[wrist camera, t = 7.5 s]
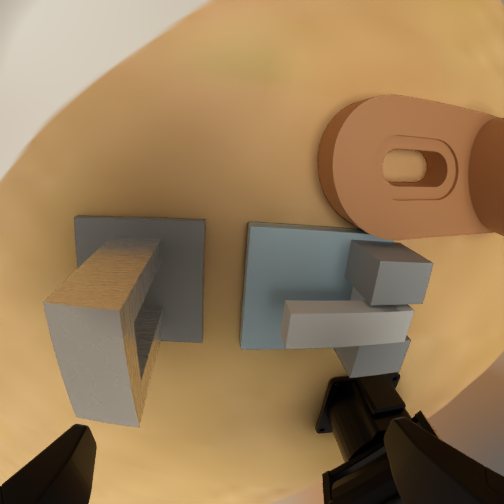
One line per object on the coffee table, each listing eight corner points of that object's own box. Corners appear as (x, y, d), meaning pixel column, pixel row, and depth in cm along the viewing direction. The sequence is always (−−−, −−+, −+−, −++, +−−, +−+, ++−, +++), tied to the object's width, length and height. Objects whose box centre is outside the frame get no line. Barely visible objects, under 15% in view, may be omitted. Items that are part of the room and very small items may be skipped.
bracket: (508, 126, 18) (569, 132, 12) (504, 221, 21) (561, 245, 14) (313, 95, 17) (364, 70, 10) (317, 232, 19) (364, 273, 13)
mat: (202, 337, 21) (202, 342, 20) (90, 329, 20) (87, 333, 19) (205, 219, 18) (204, 221, 18) (78, 215, 17) (74, 217, 17)
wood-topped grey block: (164, 326, 19) (139, 427, 11) (119, 322, 19) (76, 417, 11) (161, 238, 18) (119, 310, 10) (112, 236, 17) (43, 302, 9)
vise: (367, 336, 22) (399, 380, 17) (239, 339, 21) (246, 393, 16) (391, 231, 20) (439, 258, 14) (248, 221, 18) (260, 250, 13)
